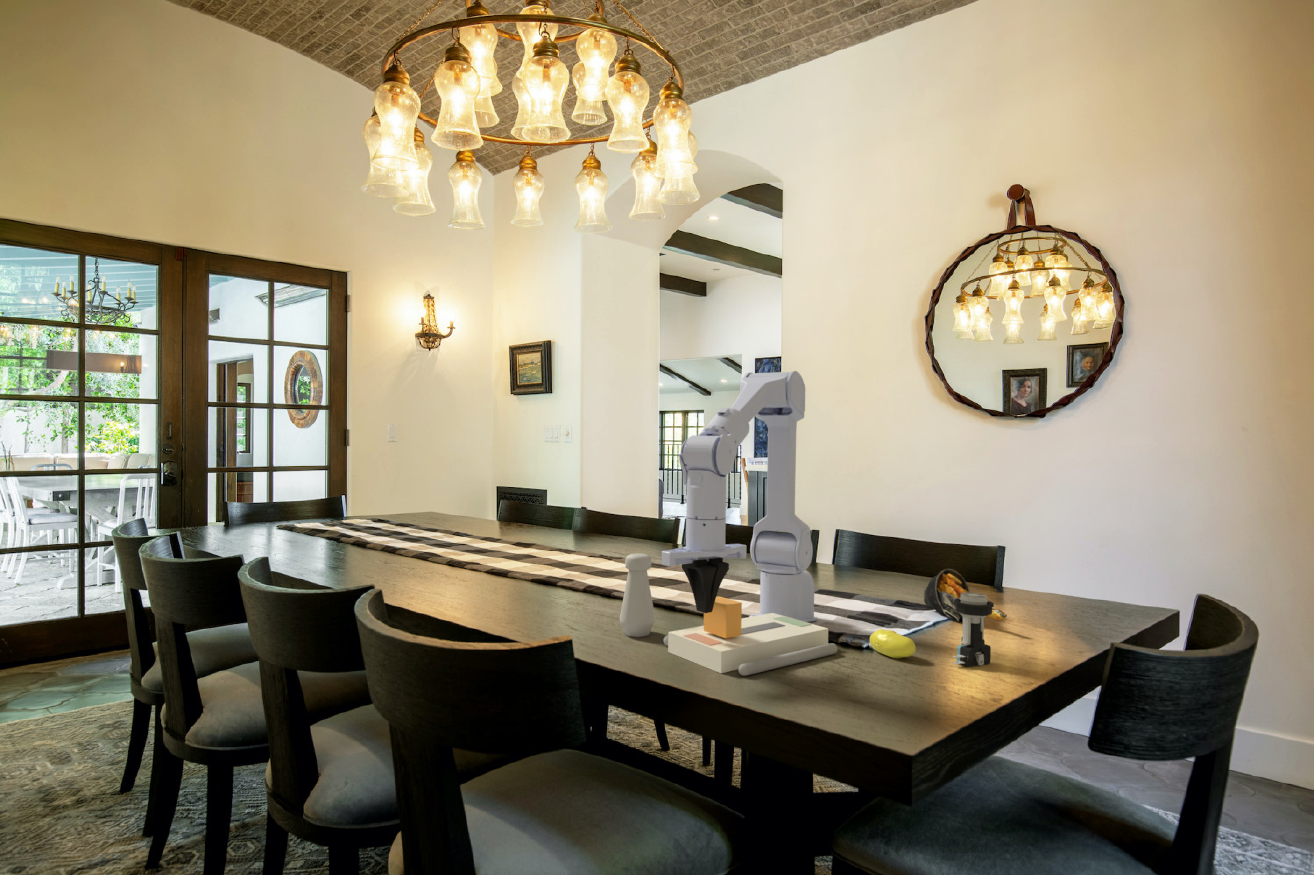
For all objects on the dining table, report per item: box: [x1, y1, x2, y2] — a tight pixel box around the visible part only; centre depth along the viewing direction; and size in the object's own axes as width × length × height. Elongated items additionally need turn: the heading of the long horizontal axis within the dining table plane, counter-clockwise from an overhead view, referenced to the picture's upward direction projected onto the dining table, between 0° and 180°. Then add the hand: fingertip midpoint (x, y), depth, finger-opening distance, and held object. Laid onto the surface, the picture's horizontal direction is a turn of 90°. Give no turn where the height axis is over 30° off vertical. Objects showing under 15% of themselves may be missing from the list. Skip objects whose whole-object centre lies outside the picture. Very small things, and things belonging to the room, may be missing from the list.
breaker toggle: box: [703, 595, 743, 638], centre depth 110 cm, size 3×5×5 cm, turn 36°
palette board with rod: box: [663, 635, 838, 677], centre depth 113 cm, size 20×19×2 cm
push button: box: [952, 591, 995, 668], centre depth 108 cm, size 7×5×10 cm
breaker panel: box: [667, 613, 829, 674], centre depth 113 cm, size 22×12×3 cm, turn 126°
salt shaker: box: [619, 552, 656, 638], centre depth 122 cm, size 6×6×13 cm
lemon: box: [869, 628, 917, 659], centre depth 111 cm, size 4×8×4 cm, turn 28°
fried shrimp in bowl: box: [923, 568, 1008, 622], centre depth 134 cm, size 9×11×18 cm
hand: (704, 611), depth 108 cm, fingers closed
